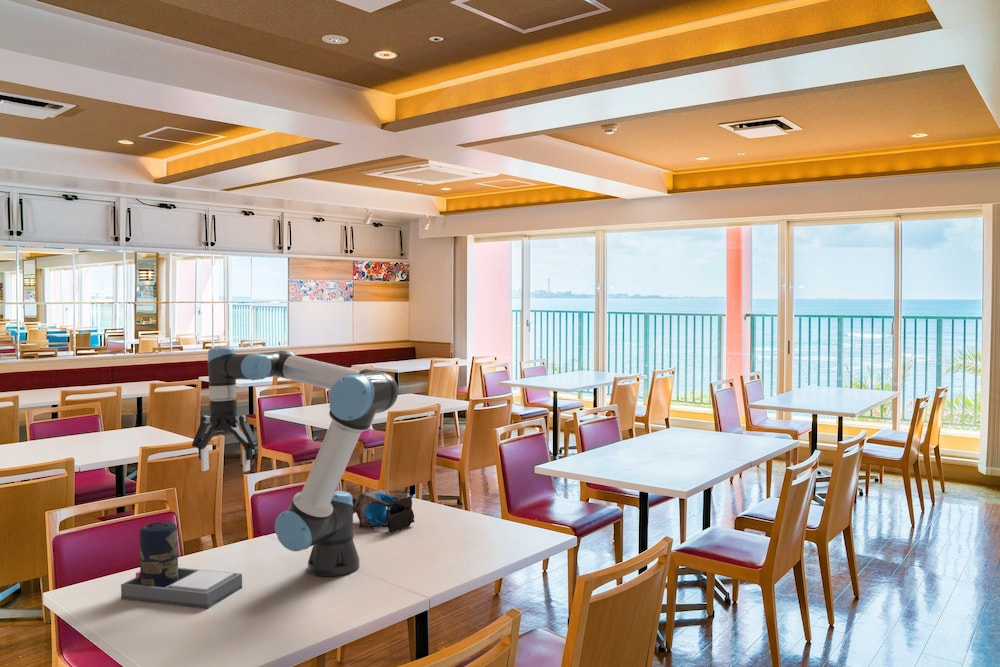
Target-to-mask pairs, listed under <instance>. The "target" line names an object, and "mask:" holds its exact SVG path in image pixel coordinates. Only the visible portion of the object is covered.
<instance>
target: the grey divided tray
mask: <svg viewBox="0 0 1000 667" xmlns="http://www.w3.org/2000/svg"><path fill="white" fill-rule="evenodd" d="M241 589H243V573H238V572H230V571H229V572H228V571H220V570H219V571H217V570H207V569H197V568H195V569H194V568H185V567H178V581H176V582H174V583H172V584H170V585H168V586H166V587H155V586H145V585H141V571H139V570H138V572H135V577H134V578H132V579H130V580H127V581H126V582H124V583H122V584H120V594H121V595H120V596H121V598H120V599H121V600H125V601H134V602H142V603H143V602H144V603H150V604H151V603H153V604H160V605H171V606H180V607H187V608H196V609H197V608H198V609H205V610H207V609H208V610H209V608H211V607H213V606H215V605H217V604H218V603H220V602H221V601H223V600H225V599H226V598H228V597H230V596H231V595H233V594H235V593H237V592H238V591H239V590H241Z"/></svg>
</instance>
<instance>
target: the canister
mask: <svg viewBox="0 0 1000 667" xmlns="http://www.w3.org/2000/svg"><path fill="white" fill-rule="evenodd" d="M178 542H179V541H178V527H177V525H176V524H175V523H174V522H170V521H169V522H168V521H156V522H152V523H150V524H146V525H144V526H142V527H141V528H140V530H139V555H140V556H139V568H140V569H139V570H140V571H141V585H145V586H155V587H166V586H168V585H170V584H172V583H174V582H176V581H178V568H179V558H178V557H179V556H178V554H179V549H178V548H179V547H178V545H179V544H178Z"/></svg>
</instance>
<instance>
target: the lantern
mask: <svg viewBox="0 0 1000 667" xmlns="http://www.w3.org/2000/svg"><path fill="white" fill-rule="evenodd" d="M352 501H353V514H354V513H356V515H357V519H358V522H359V524H358V527H359V528H371V531H372V530H374V528H387V529H388V534H393V533H396V532H398V531H397V530H399V531H401V529H402V530H403V529H404V530H405V529H408V528H410V527H411V524H412V523H415V514H414V511H413V509H412V508H413V507H412V506H413V499H412V497H411V495H408V496H407V497H405V498H402V499H399V498H398V497H397V496H395V495H393V494H391V493H390V492H388V491H386V490H385V489H384V488H381V489H377V490H372V491H367V492H361V493H360V494H359V495H358V497H357V498H356V496H352ZM409 526H410V527H409ZM407 527H408V528H407Z"/></svg>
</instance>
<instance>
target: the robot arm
mask: <svg viewBox="0 0 1000 667" xmlns="http://www.w3.org/2000/svg"><path fill="white" fill-rule="evenodd" d="M235 352H236V351H235V348H234V347H232V346H231V347H229V346H227V347H226V346H225V347H213V348H212V347H211V348H210V349H209V350H208V352H207V362H206V363H207V370H208V372H207V373H208V393H209V394H208V395H209V396H208V398H209V400H210V401H209V413H210V416H209V415H208V414H206V415H201V417H200V423H199V426H198V429H197V430H196V433H195V436H194V437H193V438H194V439H193V441H192V443H191V446H192V447H193V448H196V449H198V459H199V460H200V461H201V462H200V463H201V464H200V466H201V472H205V471H206V472H207V471H208V470H210V458H209V457H210V455H209V447H208V444H209V443H210V442H211V440H212V439H213V437H214V436H215V434H216V433H217V432H221V431H223V432H227V431H228V432H230V433H231V434H233V435H234V437H235V438H236V439H237V441H238V442H239V443H240V444H241V446H242V447H243V449H242V450H241V451H242V452H241V454H242V472H245V473H246V472H249V471H251V460H253V459H252V458H253V448H254V447H258V445H259V442H258V440H257V438H256V436H255V434H254V432H253V429H252V427H251V426H250V424H249V422H248V417H247V414H243V415H238V414H237V411H238V406H237V402H238V401H237V399H236V398H237V385H236V384H237V381H236V380H247V381H249V380H251V381H257V380H258V381H259V380H264V379H266V378H273V377H277V378H278V377H279V378H282V379H286V380H289V381H290V380H291V381H295V382H299V383H303V384H306V385H310V386H313V387H314V386H315V387H318V388H320V389H321V388H322V389H326V390H329V393H328V396H327V397H328V399H327V400H328V403H329V405H328V407H329V411H328V415H329V418H330V419H331V422H330V424H329V426H328V429H327V431H326V433H325V436H324V438H323V440H322V443H321V444H320V448H319V451H318V452H317V455H316V456H315V459H314V462H313V464H312V466H311V470H310V471H309V474H308V476H307V479H306V481H305V483H304V484H303V485H304V486H303V488H302V490H301V491H299V492H296V494H294V496H293V497H292V500H291V502H290V504H289V506H288V509H287V510H283V511H282V512H281V513H279V515H278V516H277V517H276V519H275V523H274V531H275V535H276V536H277V540H278V541H279V543H280V544H281V545H282V546H283V548H285V549H287V550H289V551H291V552H300V551H303V550H307V549H309V548H310V547H312V548H311V551H310V555H309V557H308V561H307V571H308V573H309V574H310V575H313V576H318V577H338V576H344V575H347V574H351V573H354V572H355V571H357V570H358V569H359V568H360V557H359V554H358V551H357V548H356V546H355V545H356V544H355V543H354V513H353V501H352V499H353V495H352V494H351V493H350V492H348V491H344V490H337V489H338V486H339V485H340V482H341V481H342V480H341V479H342V478H343V475H344V473H345V471H346V469H347V466H348V465H349V464H348V463H349V462H350V459H351V456H352V455H353V452H354V449H355V448H356V446H357V443H358V441H359V438H360V436H361V434H362V433H363V432H365V431H368V430H369V428H370V426H371V425H372V423H373V420H374V418H375V415H376V414H379V413H384V412H385V411H388V410H389V409H391V408H392V407H393V406H394V405H395V403H396V401H397V399H398V396H399V387H398V384H397V381H396V380H395V379H394V377H393V376H392V375H391V374H389V373H387V372H385V371H381V370H374V369H371V368H361V369H360V370H359V369H355V368H350V367H347V366H341V365H337V364H335V363H328V362H324V361H321V360H320V361H319V360H316V359H312V358H307V357H303V356H300V355H299V356H298V355H295V354H294V353H293V352H292V351H289V350H277V351H271V352H270V351H268V352H267V351H266V352H255V353H254V352H253V353H235ZM210 423H211V425H210V427H209V428H208V426H209V424H210ZM237 423H238V424H239V426H238V424H237ZM240 428H241V429H240ZM207 429H208V431H207ZM206 431H207V433H206ZM205 433H206V434H205Z"/></svg>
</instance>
